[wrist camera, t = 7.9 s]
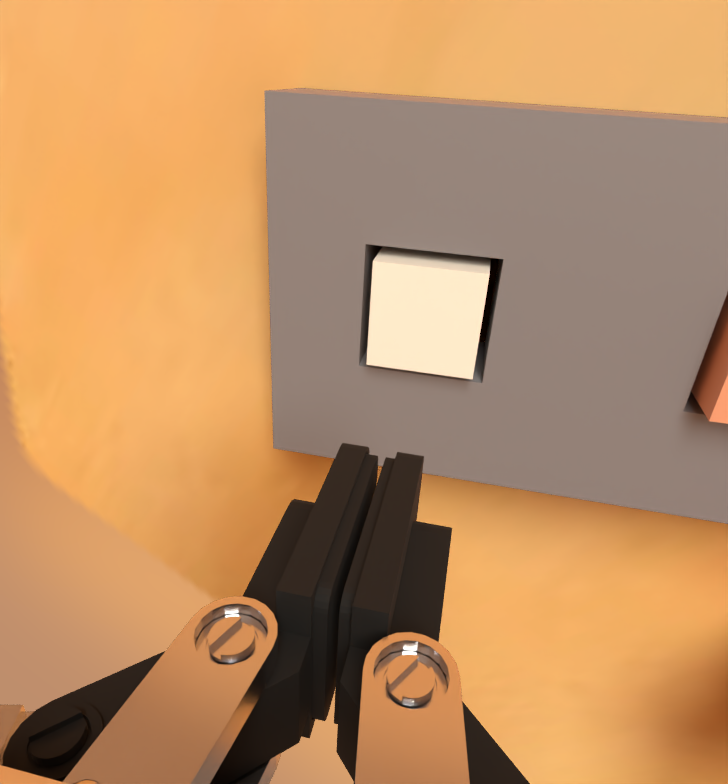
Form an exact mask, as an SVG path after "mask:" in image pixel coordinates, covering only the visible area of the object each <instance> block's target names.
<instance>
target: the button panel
mask: <svg viewBox="0 0 728 784" xmlns="http://www.w3.org/2000/svg"><path fill="white" fill-rule="evenodd" d="M265 128H266V168H267V208H268V248H269V288H270V328H271V369H272V409H273V448H275V449H281V450H287V451H293V452H299V453H305V454H311V455H317V456H323V457H329V458H335V457H336V455H337V453H338V450H339V448H340V446H341V444H342V443H347V444H353V445H359V446H366V447H369V451H370V453H369V454H370V455H376V456H378V466H383V464H384V461H385V458H386V457H388V458H395V457H396V454H397V452H402V453H408V454H414V455H420V456H424V463H423V471H422V473H425V474H431V475H437V476H443V477H449V478H455V479H461V480H467V481H473V482H479V483H485V484H491V485H497V486H503V487H509V488H515V489H521V490H527V491H533V492H539V493H545V494H551V495H557V496H563V497H569V498H576V499H582V500H588V501H594V502H600V503H606V504H612V505H618V506H624V507H630V508H636V509H642V510H648V511H654V512H660V513H666V514H672V515H678V516H684V517H690V518H696V519H702V520H708V521H714V522H720V523H726V524H728V424H726V423H719V422H712V421H709V420H708V419H707V417H706V415H705V414H704V412H703V410H702V409H701V407H700V405H699V404H698V402H697V400H696V399H695V397H694V395H693V393H692V392H691V389H692V387H693V384H694V381H695V379H696V376H697V373H698V370H699V368H700V365H701V362H702V360H703V357H704V354H705V352H706V349H707V346H708V344H709V341H710V338H711V335H712V333H713V330H714V327H715V325H716V322H717V319H718V317H719V314H720V311H721V309H722V306H723V303H724V300H725V298H726V295H727V292H728V118H724V117H710V116H695V115H681V114H666V113H652V112H638V111H623V110H609V109H594V108H580V107H565V106H551V105H537V104H522V103H508V102H493V101H479V100H464V99H450V98H436V97H421V96H407V95H392V94H378V93H363V92H349V91H335V90H320V89H306V88H296V89H282V90H269V91H265ZM383 246H388V247H397V248H406V249H415V250H424V251H433V252H443V253H452V254H461V255H470V256H479V257H489V258H498V259H499V261H498V266H497V272H496V278H495V284H494V290H493V296H492V302H491V308H490V314H489V320H488V326H487V332H486V338H485V342H482V341H479V343H478V349H477V355H476V361H475V367H474V373H473V379H466V378H459V377H452V376H444V375H437V374H430V373H423V372H416V371H409V370H402V369H395V368H387V367H380V366H373V365H366V363H367V347H368V331H369V315H370V299H371V283H372V267H373V260H374V259H375V257H376V256H377V254H378V253H379V251H380V250H381V248H382V247H383Z"/></svg>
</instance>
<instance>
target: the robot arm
mask: <svg viewBox="0 0 728 784" xmlns="http://www.w3.org/2000/svg"><path fill="white" fill-rule="evenodd" d="M369 453H370V451H369V447H366V446H359V445H353V444H347V443H342V444H341V446H340V448H339V450H338V453H337V455H336V457H335V459H334V462H333V464H332V466H331V468H330V470H329V473H328V475H327V477H326V479H325V482H324V484H323V486H322V488H321V491H320V493H319V495H318V497H317V499H316V502H315V503H313V502H307V501H302V500H296V499H294V500H292V501H291V503H290V504H289V506H288V508H287V510H286V512H285V514H284V516H283V518H282V520H281V522H280V524H279V526H278V528H277V530H276V531H275V533H274V535H273V537H272V539H271V541H270V543H269V545H268V547H267V549H266V551H265V553H264V555H263V557H262V559H261V561H260V563H259V565H258V567H257V569H256V571H255V573H254V575H253V577H252V579H251V581H250V583H249V585H248V587H247V589H246V591H245V593H244V595H243V596H237V597H226V598H223V599H219V600H216V601H213V602H212V603H210V604H208V605H206V606H205V607H203V608H201V609H200V610H199V611H198V612H197V613H196V614H195V615H194V616H193V617H192V618H191V619H190V621H189V622H188V623H187V625H186V626H185V627H184V628H183V630H182V631H181V632H180V633H179V635H178V636H177V637H176V639H175V640H174V641H173V642H172V644H171V645H170V646H169V647H168V649H167V650H166V651H164V652H162V653H160V654H157V655H155V656H153V657H151V658H148V659H146V660H144V661H142V662H139V663H137V664H135V665H133V666H130V667H128V668H126V669H124V670H121V671H119V672H117V673H115V674H112V675H110V676H108V677H105V678H103V679H101V680H99V681H96V682H94V683H92V684H90V685H87V686H85V687H83V688H80V689H78V690H76V691H74V692H71V693H69V694H67V695H64V696H62V697H60V698H58V699H55V700H53V701H51V702H49V703H48V704H46V705H44V706H43V707H41V708H39V709H37V710H36V711H30V712H29V711H27V712H26V711H25V709H24V706H23V705H0V784H269V783H270V781H271V778H272V777H273V774H274V772H275V770H276V768H277V765H278V762H279V759H280V756H281V753H282V752H284V751H285V750H287V749H289V748H290V747H292V746H294V745H295V744H297V743H299V741H300V738H301V736H303V737H306V738H310V735H311V732H312V728H313V725H314V721H315V719H318V720H323V721H325V720H326V718H327V715H328V712H329V709H330V705H331V701H332V698H333V694H334V691H335V687H336V692H335V713H334V723H335V724H338V734H337V753H338V755H339V757H340V759H341V760H342V762H343V764H344V765H345V767H346V769H347V770H348V772H349V774H350V775H351V777H352V779H353V781H354V784H530V783H529V782H528V781H527V780H526V779H525V777H524V776H523V775H522V774H521V772H520V771H519V770H518V769H517V768H516V766H515V765H514V764H513V763H512V761H511V760H510V759H509V758H508V757H507V755H506V754H505V753H504V752H503V750H502V749H501V748H500V747H499V746H498V744H497V743H496V742H495V741H494V739H493V738H492V737H491V736H490V735H489V733H488V732H487V731H486V730H485V728H484V727H483V726H482V725H481V724H480V722H479V721H478V720H477V719H476V718H475V716H474V715H473V714H472V713H471V711H470V710H469V709H468V708H467V707H466V705H465V704H464V703H463V702H462V693H461V682H460V675H459V671H458V667H457V664H456V662H455V660H454V659H453V657H452V656H451V654H450V653H449V651H448V650H447V649H445V648H444V647H443V646H442V645H441V644H440V643H439V642H438V641H439V633H440V624H441V616H442V608H443V599H444V591H445V583H446V574H447V566H448V557H449V549H450V541H451V532H452V528H450V527H444V526H439V525H433V524H428V523H422V522H417V521H416V519H417V511H418V503H419V495H420V487H421V479H422V471H423V463H424V456H420V455H414V454H408V453H402V452H397V454H396V457H395V458H388V457H386V458H385V461H384V464H383V467H382V470H381V473H380V476H379V480H378V483H377V470H378V456H376V455H370V454H369ZM376 483H377V486H376Z"/></svg>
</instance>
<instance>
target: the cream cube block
mask: <svg viewBox="0 0 728 784" xmlns="http://www.w3.org/2000/svg"><path fill="white" fill-rule="evenodd" d="M490 260H491V258H489V257H479V256H470V255H461V254H452V253H443V252H433V251H424V250H415V249H406V248H397V247H388V246H383V247H382V248H381V250H380V251H379V253H378V254H377V256H376V257H375V259H374V260H373V267H372V283H371V299H370V315H369V331H368V347H367V363H366V365H373V366H380V367H387V368H395V369H402V370H409V371H416V372H423V373H430V374H437V375H444V376H452V377H459V378H466V379H473V373H474V367H475V361H476V355H477V349H478V343H479V337H480V331H481V324H482V318H483V312H484V306H485V300H486V294H487V288H488V281H489V275H490Z"/></svg>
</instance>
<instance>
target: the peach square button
mask: <svg viewBox="0 0 728 784" xmlns="http://www.w3.org/2000/svg"><path fill="white" fill-rule="evenodd" d="M691 392H692V393H693V395H694V397H695V399H696V400H697V402H698V404H699V405H700V407H701V409H702V410H703V412H704V414H705V415H706V417H707V419H708V420H709V421H712V422H719V423H726V424H728V292H727V295H726V298H725V300H724V303H723V306H722V309H721V311H720V314H719V317H718V319H717V322H716V325H715V327H714V330H713V333H712V335H711V338H710V341H709V344H708V346H707V349H706V352H705V354H704V357H703V360H702V362H701V365H700V368H699V370H698V373H697V376H696V379H695V381H694V384H693V387H692V389H691Z"/></svg>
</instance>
